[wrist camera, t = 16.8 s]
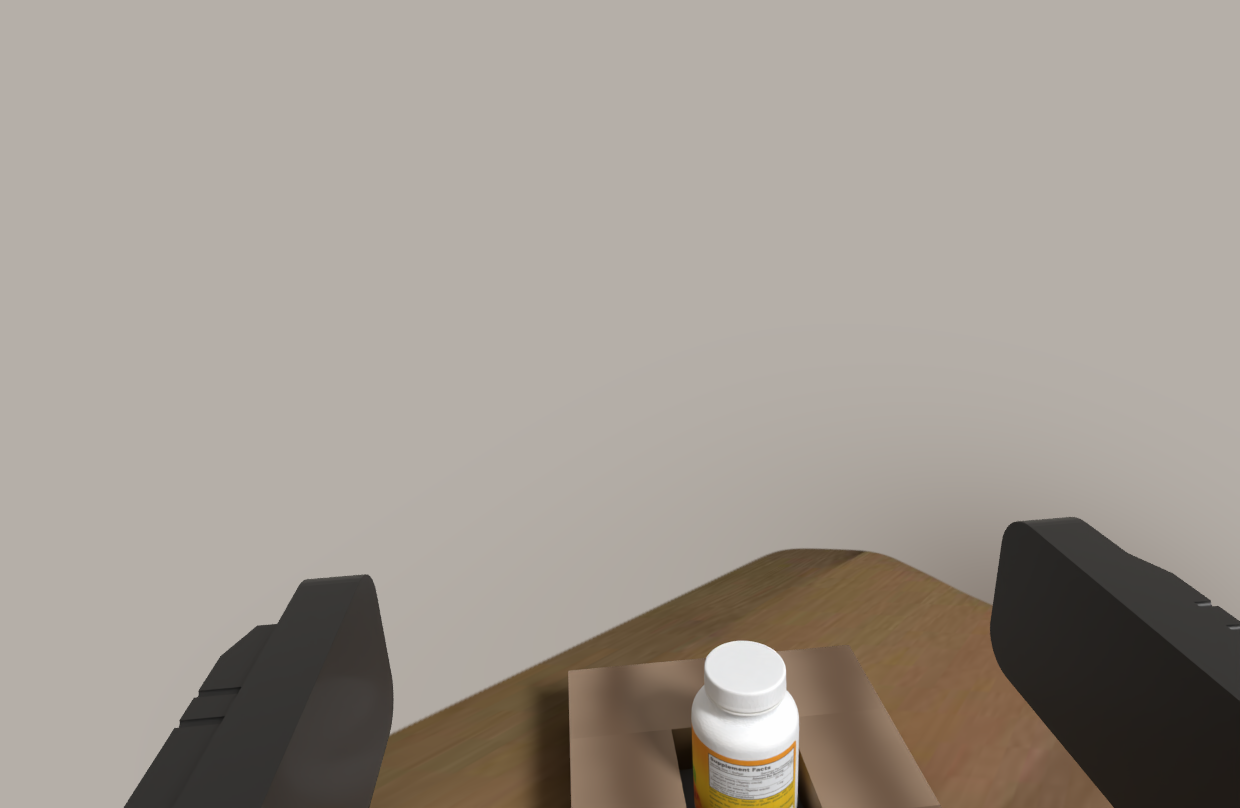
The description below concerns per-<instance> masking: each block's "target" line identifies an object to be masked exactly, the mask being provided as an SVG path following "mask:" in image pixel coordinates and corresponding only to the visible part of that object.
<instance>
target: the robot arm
mask: <svg viewBox="0 0 1240 808" xmlns="http://www.w3.org/2000/svg"><path fill="white" fill-rule="evenodd" d="M990 636H991V642H992V647H993V651H994V654H995V657H996V660H997V662H998V664H999V666H1000V668H1001V670H1002V672H1003V673H1004V674H1005V676H1006V677H1007V678H1008V680H1009V681H1010V682H1011V683H1012V685H1013V686H1014V687H1015V688H1016V689H1017V691H1018V692H1019V693H1020V694H1021V695H1022V697H1023V698H1024V699H1025V700H1026V701H1027V703H1028V704H1029V705H1030V706H1031V708H1032V709H1033V710H1034V711H1035V712H1036V714H1037V715H1038V716H1039V717H1040V718H1041V720H1042V721H1043V722H1044V723H1045V725H1046V726H1047V727H1048V728H1049V729H1050V731H1051V732H1052V733H1053V734H1054V735H1055V737H1056V738H1057V739H1058V740H1059V741H1060V743H1061V744H1062V745H1063V746H1064V748H1065V749H1066V750H1067V751H1068V752H1069V754H1070V755H1071V756H1072V757H1073V758H1074V760H1075V761H1076V762H1077V763H1078V764H1079V766H1080V767H1081V768H1082V769H1083V771H1084V772H1085V773H1086V774H1087V775H1088V777H1089V778H1090V779H1091V780H1092V781H1093V783H1094V784H1095V785H1096V786H1097V787H1098V789H1099V790H1100V791H1101V792H1102V794H1103V795H1104V796H1105V797H1106V798H1107V800H1108V801H1109V802H1110V803H1111V804H1112V806H1113V807H1114V808H1240V621H1239V620H1237V619H1236V618H1234V617H1233V616H1232V615H1230V614H1229V613H1227V612H1226V611H1225V610H1223V609H1222V608H1220V607H1219V606H1212V605H1211V601H1210V600H1209V599H1208V598H1206V597H1205V596H1204V595H1202V594H1200V593H1199V592H1198V591H1197V590H1195V589H1194V588H1192V587H1191V586H1190V585H1188V584H1187V583H1185V582H1184V581H1183V580H1181V579H1180V578H1178V577H1177V576H1176V575H1174V574H1173V573H1170V572H1168V571H1166V570H1164V569H1161V568H1160V567H1157V566H1155V565H1153V564H1151V563H1148V562H1146V561H1144V560H1142V559H1139V558H1137V557H1135V556H1133V555H1131V554H1128V553H1127V552H1125V551H1124V550H1123V549H1121V548H1119V547H1118V546H1117V545H1116V544H1114V543H1113V542H1112V541H1110V540H1109V539H1108V538H1106V537H1105V536H1104V535H1102V534H1101V533H1099V532H1098V531H1097V530H1095V529H1094V528H1093V527H1091V526H1090V525H1089V524H1087V523H1086V522H1084V521H1083V520H1081V519H1078V518H1075V517H1066V518H1053V519H1042V520H1030V521H1018V522H1013V523H1012V524H1010V525H1009V526H1008V527H1007V529H1006V530H1005V532H1004V535H1003V539H1002V546H1001V552H1000V559H999V566H998V573H997V581H996V587H995V594H994V602H993V608H992V615H991V623H990ZM392 717H393V683H392V675H391V669H390V664H389V659H388V653H387V648H386V642H385V637H384V632H383V626H382V621H381V615H380V610H379V604H378V599H377V594H376V589H375V586H374V583H373V580H372V579H371V577H370V576H369V575H353V576H342V577H330V578H318V579H307V580H304V581H303V582H301V584H300V585H299V587H298V588H297V590H296V592H295V594H294V595H293V597H292V599H291V601H290V602H289V604H288V606H287V608H286V610H285V612H284V613H283V615H282V617H281V618H280V620H279V622H278V624H272V625H261V626H256V627H255V628H254V629H253V630H252V631H250V632H249V633H248V634H247V635H246V636H245V637H243V638H242V639H241V640H240V641H238V642H237V643H236V644H235V645H234V646H232V647H231V648H230V649H229V650H228V651H226V652H225V653H224V654H223V655H222V656H220V658H219V660H218V661H217V663H216V664H215V666H214V667H213V669H212V670H211V672H210V674H209V675H208V677H207V678H206V680H205V681H204V683H203V685H202V686H201V688H200V689H199V696H198V697H197V698H194V699H193V700H192V702H191V703H190V705H189V706H188V708H187V710H186V711H185V713H184V714H183V716H182V717H181V719H180V726H179V728H174V730H173V731H172V733H171V735H170V736H169V738H168V739H167V741H166V742H165V744H164V746H163V747H162V749H161V750H160V752H159V753H158V755H157V757H156V758H155V760H154V761H153V763H152V764H151V766H150V767H149V769H148V770H147V772H146V774H145V775H144V777H143V778H142V780H141V781H140V783H139V784H138V786H137V788H136V789H135V791H134V792H133V794H132V796H131V797H130V799H129V800H128V802H127V803H126V805H125V806H124V808H369V806H370V803H371V799H372V796H373V792H374V788H375V785H376V781H377V777H378V774H379V770H380V767H381V763H382V759H383V756H384V752H385V749H386V745H387V741H388V738H389V734H390V730H391V724H392Z"/></svg>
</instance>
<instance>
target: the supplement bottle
mask: <svg viewBox="0 0 1240 808" xmlns="http://www.w3.org/2000/svg"><path fill="white" fill-rule="evenodd" d="M704 684H705V685H703V686H702V688H701V689H700V690H699V691H698V693H697V694H696V696H695V698H694V701H693V704H692V714H691V722H692V754H693V781H694V804H695V808H797V803H798V754H799V714H798V709H797V706H796V703H795V701H794V699H793V697H792V696H791V695H790V693H789V692H788V691H787V690H786V667H785V664H784V661H783V659H782V658H781V657H780V655H779V654H778V653H777V652H775V651H774V650H773V649H771V648H769V647H768V646H765V645H763V644H760V643H756V642H752V641H733V642H729V643H725V644H722V645H720V646H718V647H716V648H715V649H714V650H712V651H711V652H710V653H709V655H708V656H707V658H706V660H705V664H704Z"/></svg>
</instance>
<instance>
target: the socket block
mask: <svg viewBox="0 0 1240 808" xmlns="http://www.w3.org/2000/svg"><path fill="white" fill-rule="evenodd" d="M777 653H778V654H779V655H780V657H781V658H782V659H783V661H784V664H785V667H786V690H787V691H788V692H789V693H790V695H791V696H792V697H793V699H794V701H795V703H796V706H797V709H798V714H799V754H798V803H797V808H942V807H941V805H940V804H939V802H938V800H937V798H936V797H935V795H934V793H933V791H932V790H931V788H930V786H929V784H928V783H927V781H926V779H925V777H924V776H923V774H922V772H921V770H920V769H919V767H918V765H917V763H916V762H915V760H914V758H913V756H912V755H911V753H910V751H909V749H908V747H907V746H906V744H905V742H904V740H903V739H902V737H901V735H900V733H899V732H898V730H897V728H896V726H895V725H894V723H893V721H892V719H891V718H890V716H889V714H888V712H887V711H886V709H885V707H884V705H883V704H882V702H881V700H880V698H879V697H878V695H877V693H876V691H875V690H874V688H873V686H872V684H871V683H870V681H869V679H868V677H867V676H866V674H865V672H864V670H863V669H862V667H861V665H860V663H859V662H858V660H857V658H856V656H855V655H854V653H853V651H852V649H851V648H850V646H849V645H842V646H832V647H821V648H810V649H799V650H788V651H777ZM705 660H706V658H702V659H691V660H680V661H669V662H658V663H647V664H637V665H626V666H615V667H604V668H593V669H582V670H572V671H568V681H569V726H570V771H571V808H695V804H694V781H693V754H692V722H691V714H692V704H693V701H694V698H695V696H696V694H697V693H698V691H699V690H700V689H701V688H702V686H703V685H705V684H704V664H705Z"/></svg>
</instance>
